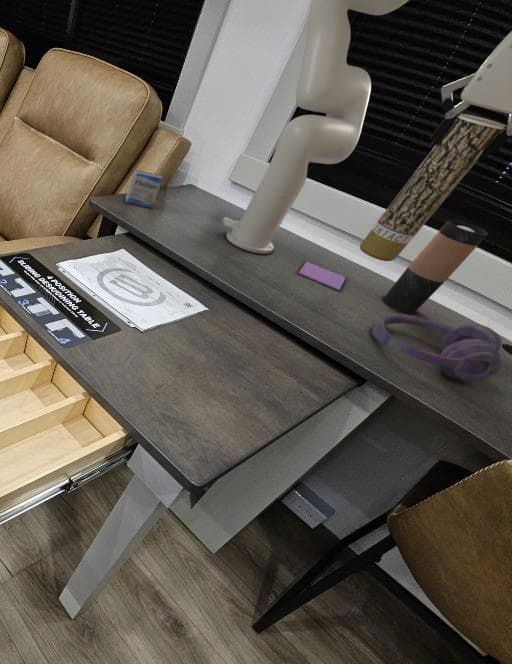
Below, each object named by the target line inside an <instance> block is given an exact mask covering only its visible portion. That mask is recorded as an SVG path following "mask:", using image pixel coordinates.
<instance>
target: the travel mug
mask: <svg viewBox="0 0 512 664" xmlns="http://www.w3.org/2000/svg"><path fill="white" fill-rule="evenodd" d="M487 236H488V232H487V231H485V229H482V228H481V227H478V226H476V225H474V224H471V223H467V222H465V221H461V220H456V219H451V220H448V221H446V222H445V223H444V224H443V225H442V226H441V228H439V230H438V232H437V233H435V235H434V236H433V237H432V238H431V239H430V240H429V242H428V243H427V244H426V245H425V246H424V247H423V248H422V250H421V251H420V253H418V255H417V256H416V257H415V258H414V259H413V260H412V261H411V263H410V264H409V265H408V267H406V269H405V270H404V271H403V273H402V274H401V275H400V276H399V277H398V279H397V280H396V281H395V283H394V284H393V285H392V287H390V289H389V290H388V292H387V293H386V294H385V296H384V297H383V302H384V303H385V304H386V305H388V306H389V307H391V308H393V309H395V310H397V311H400V312H403V313H406V314H415V312H417V311H418V310H420V308H421V307H422V306H423V305H424V304H425V303H426V302H427V301H428V300H429V299H430V298H431V297H432V296H433V295H434V293H436V291H438V289H439V288H441V286H443V284H444V283H445V282H446V281H447V280H448V279H449V278H450V277H451V276H452V275H453V274H454V272H455V271H456V270H457V269H458V268H459V267H460V266H461V265H462V264H463V263H464V261H466V259H468V257H469V256H470V255H471V254H472V253H473V251H474V250H475V249H477V247H478V246H479V245H480V244H481V243H482V242H483V240H484V239H485V238H487Z"/></svg>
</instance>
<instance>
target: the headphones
mask: <svg viewBox="0 0 512 664" xmlns="http://www.w3.org/2000/svg"><path fill="white" fill-rule="evenodd" d="M390 324H391V325H392V324H408V325H414V326H415V325H416V326H421V327H425V328H426V329H428V330H429V329H430V330H433V331H435V332H439V333H441V334H444V335H445V336H444V338H443V340H442V349H443V350H442V351H441V353H440V354H436V353H432V352H429V351H427V350H423V349H420V350H418V349H416V348H414V347H411V346H410V345H408V344H406V343H404V342H402V341H400V340H398V339H397V338H395V337H394V336H393V335H392V334H390V333H389V332H388V331H387V330H386V327H385V326H386V325H390ZM371 335H372V336H373V338H374V339H375V340H376V341H378V342H379V343H381V344H383V345H384V346H386V347H388V348H390V349H393V350H395V351H397V352H400V353H402V354H405V355H407V356H410V357H414V358H415V359H418V360H421V361H424V362H427V363H430V364H432V365H433V364H434V365H438V368H439V369H440V370H441V372H443V374H445V375H446V376H448V377H449V378H451V379H453V380H456V381H462V382H466V383H477V382H482V381H486V380H487V379H489V378H491V377H493V376H494V375H496V373H498V371H499V370H500V368H501V365H502V364H501V359H500V358H501V357H500V353H499V351H500V349H501V347H502V339H501V337H500V335H499V334H498V333H497V332H496V331H495V330H493V329H492V328H491V327H489V326H486V325H483V324H475V323H474V324H464V325H460V326H456V327H453V326H450V325H448V324H444V323H441V322H438V321H435V320H428V319H425V318H422V317H417V316H415V315H410V314H409V315H408V314H404V313H391V312H390V313H389V312H387V313H384V314H382V315H380V317H379V318H378V320H377V321H376V323H375V325H374V327H373V328H372V330H371Z"/></svg>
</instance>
